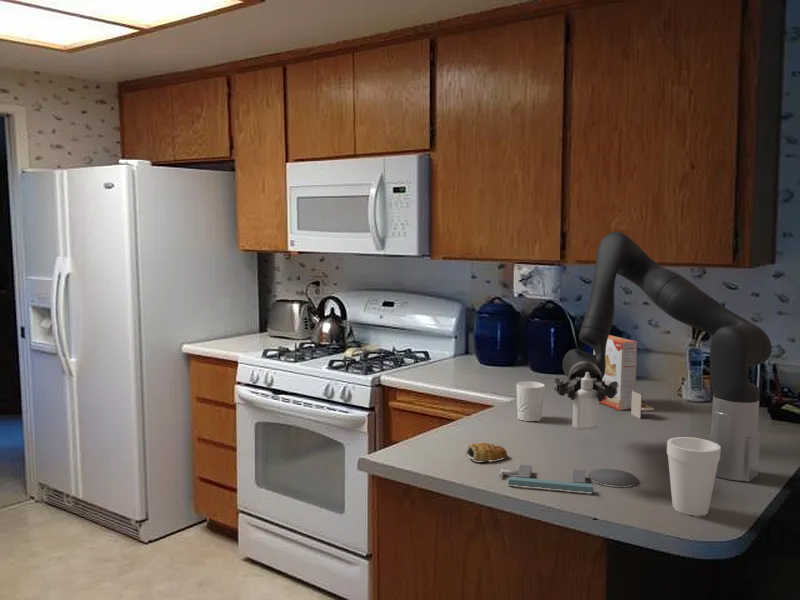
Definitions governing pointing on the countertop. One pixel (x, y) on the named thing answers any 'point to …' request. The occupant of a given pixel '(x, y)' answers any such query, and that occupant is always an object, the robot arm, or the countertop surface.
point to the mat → (613, 477)
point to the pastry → (485, 452)
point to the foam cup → (692, 473)
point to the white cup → (530, 400)
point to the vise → (525, 480)
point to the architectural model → (638, 405)
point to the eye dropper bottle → (586, 406)
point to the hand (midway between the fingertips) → (586, 395)
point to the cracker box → (620, 371)
